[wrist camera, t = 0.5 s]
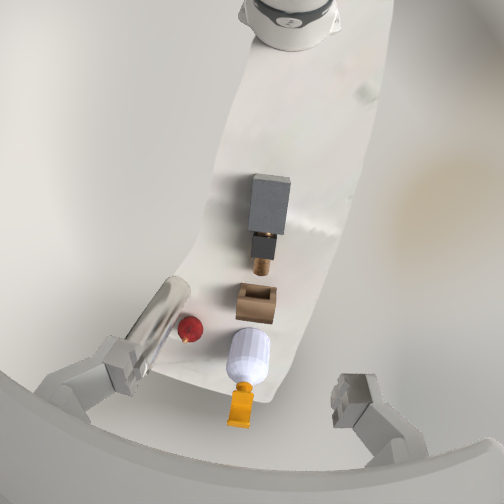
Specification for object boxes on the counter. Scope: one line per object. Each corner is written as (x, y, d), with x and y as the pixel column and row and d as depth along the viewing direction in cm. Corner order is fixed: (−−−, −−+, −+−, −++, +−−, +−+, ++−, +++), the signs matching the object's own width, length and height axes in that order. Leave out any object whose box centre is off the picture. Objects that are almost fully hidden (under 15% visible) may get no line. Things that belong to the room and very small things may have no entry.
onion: (187, 305, 62) (176, 327, 54) (209, 316, 62) (201, 339, 55) (180, 322, 64) (169, 343, 57) (201, 332, 65) (192, 354, 57)
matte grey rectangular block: (256, 173, 48) (253, 178, 43) (289, 177, 48) (290, 183, 42) (251, 219, 52) (247, 230, 46) (283, 223, 52) (283, 234, 46)
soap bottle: (272, 329, 62) (266, 418, 40) (267, 356, 66) (259, 440, 43) (234, 324, 62) (213, 410, 40) (231, 351, 66) (213, 433, 44)
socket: (241, 282, 58) (237, 298, 52) (276, 287, 57) (275, 304, 52) (239, 302, 60) (235, 319, 54) (273, 307, 59) (272, 324, 54)
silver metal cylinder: (174, 304, 62) (130, 383, 39) (158, 282, 60) (105, 356, 37) (196, 295, 60) (156, 378, 37) (180, 271, 58) (129, 349, 35)
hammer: (260, 181, 49) (258, 186, 44) (283, 184, 48) (283, 189, 43) (251, 266, 55) (248, 279, 50) (271, 268, 55) (270, 282, 50)
